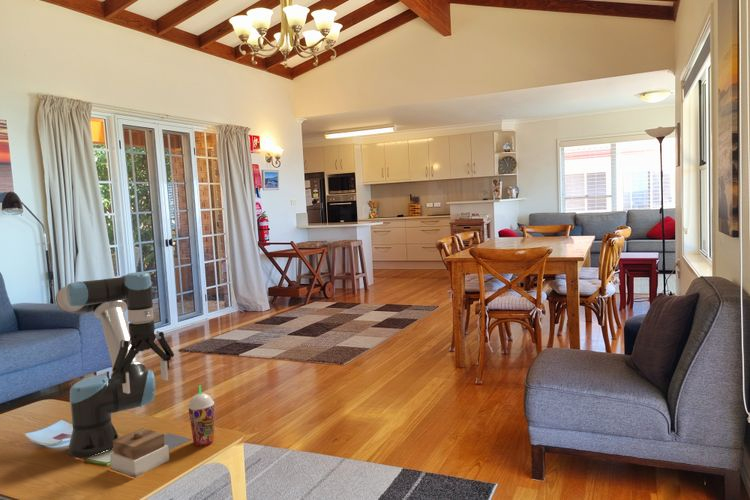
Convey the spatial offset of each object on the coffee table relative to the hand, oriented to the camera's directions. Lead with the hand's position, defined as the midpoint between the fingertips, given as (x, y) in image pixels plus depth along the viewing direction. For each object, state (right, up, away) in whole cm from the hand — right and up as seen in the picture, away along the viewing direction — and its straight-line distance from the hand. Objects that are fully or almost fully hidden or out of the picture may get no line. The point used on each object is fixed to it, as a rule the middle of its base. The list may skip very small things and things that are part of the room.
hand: (146, 386), depth 179 cm
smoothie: (+16, -22, +8) cm, 28 cm away
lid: (0, -18, -6) cm, 19 cm away
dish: (0, -23, -5) cm, 24 cm away
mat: (+3, -22, +10) cm, 24 cm away
